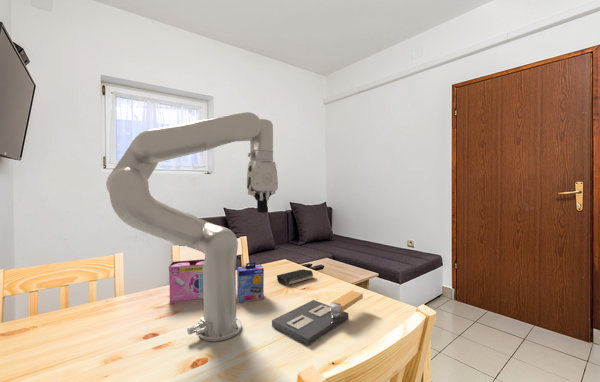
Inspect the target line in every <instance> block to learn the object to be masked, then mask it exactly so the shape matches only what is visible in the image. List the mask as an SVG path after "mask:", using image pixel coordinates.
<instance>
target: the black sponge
mask: <svg viewBox="0 0 600 382" xmlns="http://www.w3.org/2000/svg"><path fill="white" fill-rule="evenodd" d="M313 277H314V273H313V271H312V270H309V269H304V268H303V269H297V270H292V271H290V272H285V273H281V274H277V275H276V280H277V282H279V283H281V284H284V285H292V284H296V283H299V282H303V281H306V280H310V279H312V278H313Z"/></svg>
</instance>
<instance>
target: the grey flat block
mask: <svg viewBox="0 0 600 382" xmlns="http://www.w3.org/2000/svg"><path fill="white" fill-rule="evenodd" d="M348 320H349V312H347V311H345V310H344V311H343V312H342V311H341V312H339V313H334V312H331V311H330V305H328V304H326V303H323V302H320V301H318V300H315V299H312V300H311V301H308V302H306V303H304V304H302V305H300V306H298V307H296V308H294V309H291V310H290V311H288V312H286V313H284V314H282V315H280V316H278V317H275V318H273V319H271V327H272V328H273V329H276V330H277V331H280V332H282V333H284V334H285V335H286V336H289V337H290V338H292V339H294V340H296V341H298V342H299V343H302V344H304V345H305V346H307V347H309V346H310V345H311V344H313V343H315V342H316V341H319V339H321V338H322V337H323V336H325V335H326V334H328V333H330V332H331V331H333V330H335V329H336V328H337V327H339V326H340V325H342V324H344V323H345V322H347V321H348Z"/></svg>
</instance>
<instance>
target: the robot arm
mask: <svg viewBox="0 0 600 382" xmlns="http://www.w3.org/2000/svg"><path fill="white" fill-rule="evenodd" d="M235 142H250V144H249V145H250V146H249V147H250V150H249V151H250V152H249V153H247V157H248V158H250V159H249V160H250V161H249V162H248V166H247V172H246V173H247V174H246V189H247V195H249V196H252V197H254V199H255V201H256V204H257V205H256V210H257V213H260V214H264V213H268V201H269V200H270V197H271V196H272V195H275V194H276V191H277V190H278V189H279V180H278V179H279V178H278V170H277V165H276V161H274V125H273V122H272V121H271V120H268V119H265V118H264V119H263V118H259V116H258V115H256V114H255V113H253V112H249V111H247V112H245V111H244V112H241V113H240V112H239V113H234V114H233V113H232V114H229V115H228V114H227V115H223V116H222V115H221V116H218V117H214V118H210V119H202V120H197V121H192V122H187V123H181V124H175V125H170V126H164V127H158V128H151V129H146V130H144V131H142V132H140V133H139V134H137V136H135V137H134V139H133V140H132V141H131V143H130V144H129V146H128V148H127V149H126V151H125V153H123V156H122V157H121V158H120V160H119V161H118V162H117V164H116V165H115V167H114V168H113V169H112V171H111V172H110V174H109V175H108V177H107V178H106V179H107V180H106V183H105V184H106V189H107V191H108V193H109V199H110V204H111V207H112V209H113V211H114V212H115V214H116V215H117V217H118V218H119V219H120V220H121V221H122V222H123V223H125V224H126V225H127V226H129V227H131V228H134V229H136V230H139V231H141V232H144V233H147V234H149V235H151V236H154V237H156V238H158V239H163V240H165V241H167V242H170V243H171V244H173V245H175V246H176V245H177V246H180V247H187V248H191V249H193V250H196V251H199V252H201V253H203V254H204V259H205V260H204V266H203V298H202V299H203V316H202V317H200V321H199V322H197V324H195V325H192V326H189V327H187V330H186V331H187V334H188V335H189V336H191V335H193V334H196V336H199V337H200V339H202V340H204V341H208V342H219V341H221V342H222V341H225V340H228V339H231V338H233V337H235V336H236V335H238V334H239V333H240V332H241V330H242V321H241V320H240V319H239V318H237V285H236V283H237V267H236V265H237V255H238V250H239V247H238V246H239V242H238V238H237V236H236V234H235V233H234V232H233V231H232V230H231V229H230V228H227V227H225V226H221V225H219V224H218V225H217V224H214V223H212V222H210V221H207V220H205V219H201V218H200V217H197V216H196V215H195V214H192V213H190V212H187V211H184V210H179V209H177V208H175V207H172V206H169V205H168V204H166V203H164V202H162V201H159V200H157V199H155V198H154V197H153V196H152V195H151V192H150V187H149V179H150V178H151V176H152V174H153V172H155V169H156V168H157V166H158V164H159V163H160V162H161V163H162V162H165V161H166V162H167V161H169V160H173V159H177V158H182V157H186V156H189V155H195V154H200V153H202V152H206V151H210V150H212V149H215V148H217V147H221V146H224V145H228V144H230V143H235Z"/></svg>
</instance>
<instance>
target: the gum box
mask: <svg viewBox="0 0 600 382" xmlns="http://www.w3.org/2000/svg"><path fill="white" fill-rule="evenodd" d="M204 260H205V258H204V259H193V260H191V259H190V260H189V259H188V260H175V261H172V262H171V264H169V266H168V273H169V274H168V280H169V281H168V284H169V303H172V302H173V303H174V302H183V301H192V300H201V299H203V266H204Z"/></svg>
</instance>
